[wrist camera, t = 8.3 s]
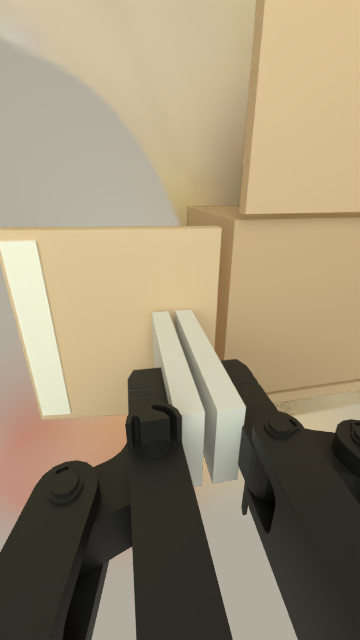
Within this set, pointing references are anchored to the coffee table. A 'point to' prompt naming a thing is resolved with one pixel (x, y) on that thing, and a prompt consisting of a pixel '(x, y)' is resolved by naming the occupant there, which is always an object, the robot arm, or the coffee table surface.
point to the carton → (296, 206)
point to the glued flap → (102, 305)
